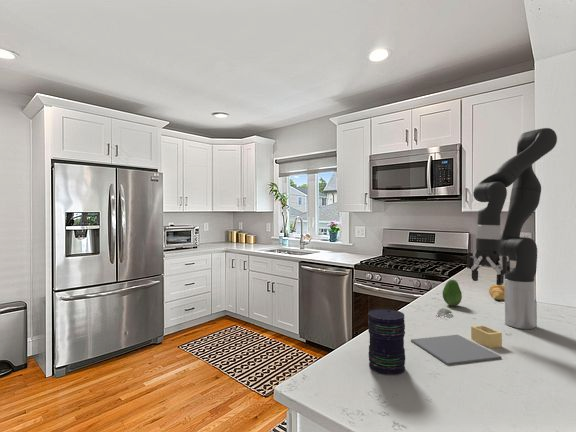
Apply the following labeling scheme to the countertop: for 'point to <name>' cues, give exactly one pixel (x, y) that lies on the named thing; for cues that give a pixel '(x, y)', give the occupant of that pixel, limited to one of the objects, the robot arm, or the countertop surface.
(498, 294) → the croissant
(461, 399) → the countertop surface
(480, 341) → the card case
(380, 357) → the storage jar
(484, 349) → the mat
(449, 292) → the avocado
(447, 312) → the grey-green jagged piece
